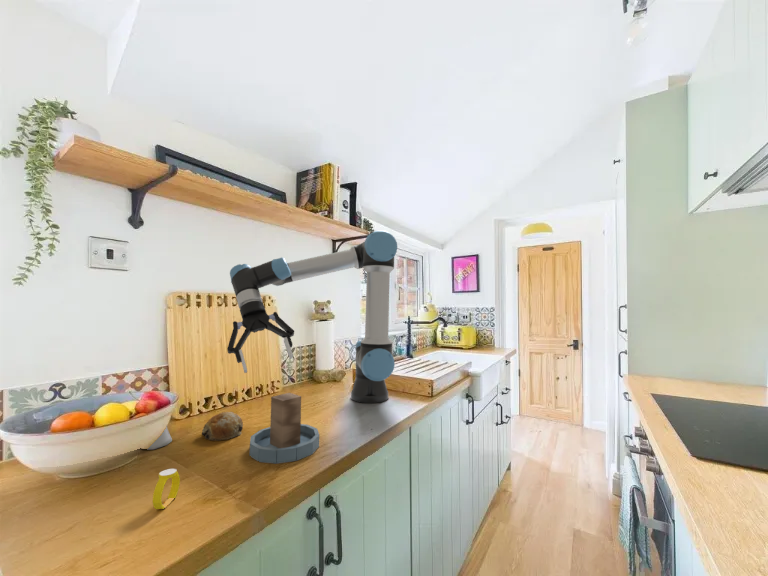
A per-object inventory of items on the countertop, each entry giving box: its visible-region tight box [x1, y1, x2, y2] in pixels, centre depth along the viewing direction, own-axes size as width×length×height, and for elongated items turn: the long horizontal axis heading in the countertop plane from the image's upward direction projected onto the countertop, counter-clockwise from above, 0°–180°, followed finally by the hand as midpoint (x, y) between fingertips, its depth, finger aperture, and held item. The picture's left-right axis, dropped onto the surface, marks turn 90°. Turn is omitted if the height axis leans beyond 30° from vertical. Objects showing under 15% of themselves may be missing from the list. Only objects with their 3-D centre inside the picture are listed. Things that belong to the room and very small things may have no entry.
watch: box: [152, 468, 181, 510], centre depth 60 cm, size 6×3×6 cm, turn 4°
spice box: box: [269, 392, 302, 448], centre depth 84 cm, size 6×6×12 cm
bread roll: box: [201, 411, 244, 442], centre depth 92 cm, size 10×10×8 cm
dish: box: [249, 423, 320, 464], centre depth 84 cm, size 17×17×3 cm
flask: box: [147, 426, 173, 450], centre depth 85 cm, size 7×7×10 cm
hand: (269, 364), depth 98 cm, fingers open, 13 cm apart
